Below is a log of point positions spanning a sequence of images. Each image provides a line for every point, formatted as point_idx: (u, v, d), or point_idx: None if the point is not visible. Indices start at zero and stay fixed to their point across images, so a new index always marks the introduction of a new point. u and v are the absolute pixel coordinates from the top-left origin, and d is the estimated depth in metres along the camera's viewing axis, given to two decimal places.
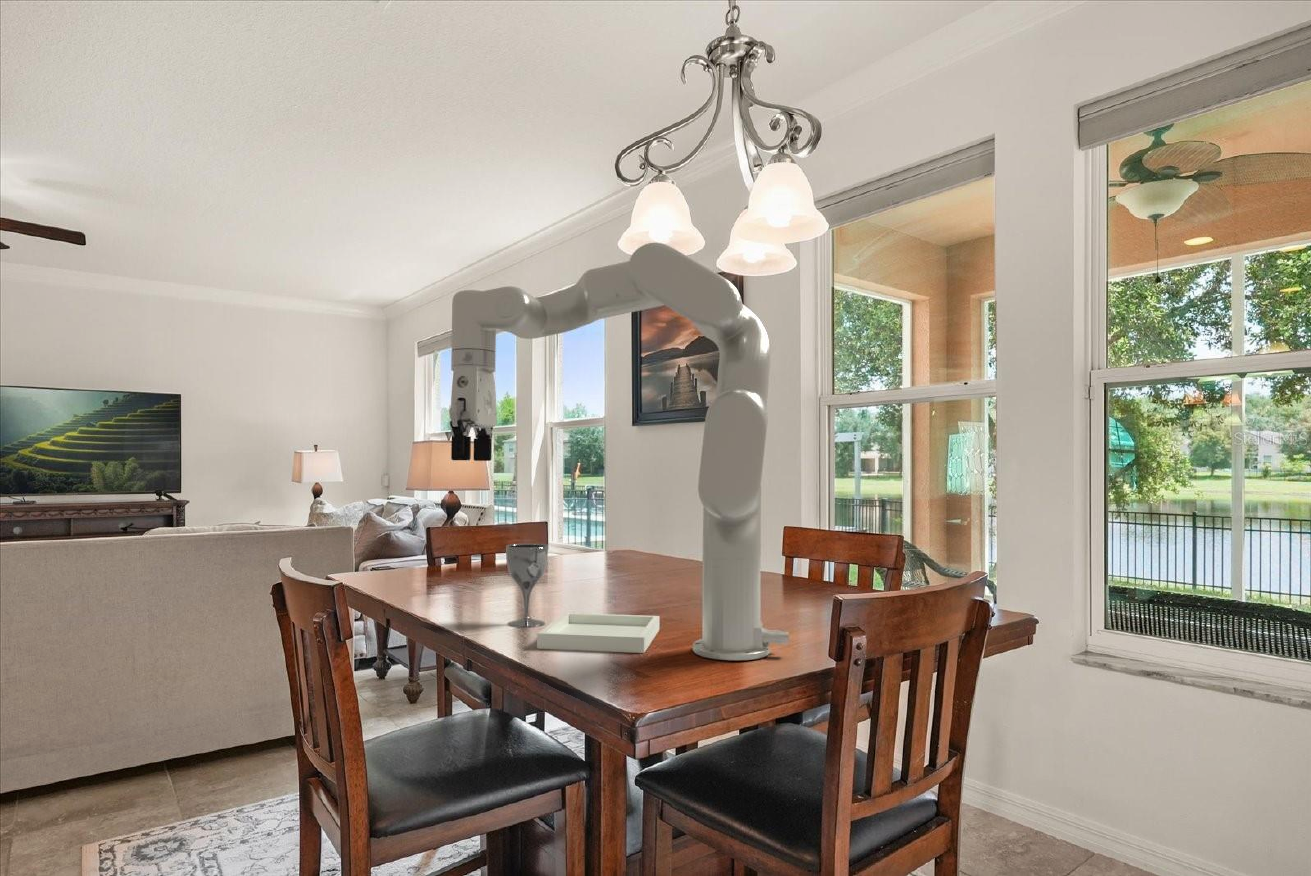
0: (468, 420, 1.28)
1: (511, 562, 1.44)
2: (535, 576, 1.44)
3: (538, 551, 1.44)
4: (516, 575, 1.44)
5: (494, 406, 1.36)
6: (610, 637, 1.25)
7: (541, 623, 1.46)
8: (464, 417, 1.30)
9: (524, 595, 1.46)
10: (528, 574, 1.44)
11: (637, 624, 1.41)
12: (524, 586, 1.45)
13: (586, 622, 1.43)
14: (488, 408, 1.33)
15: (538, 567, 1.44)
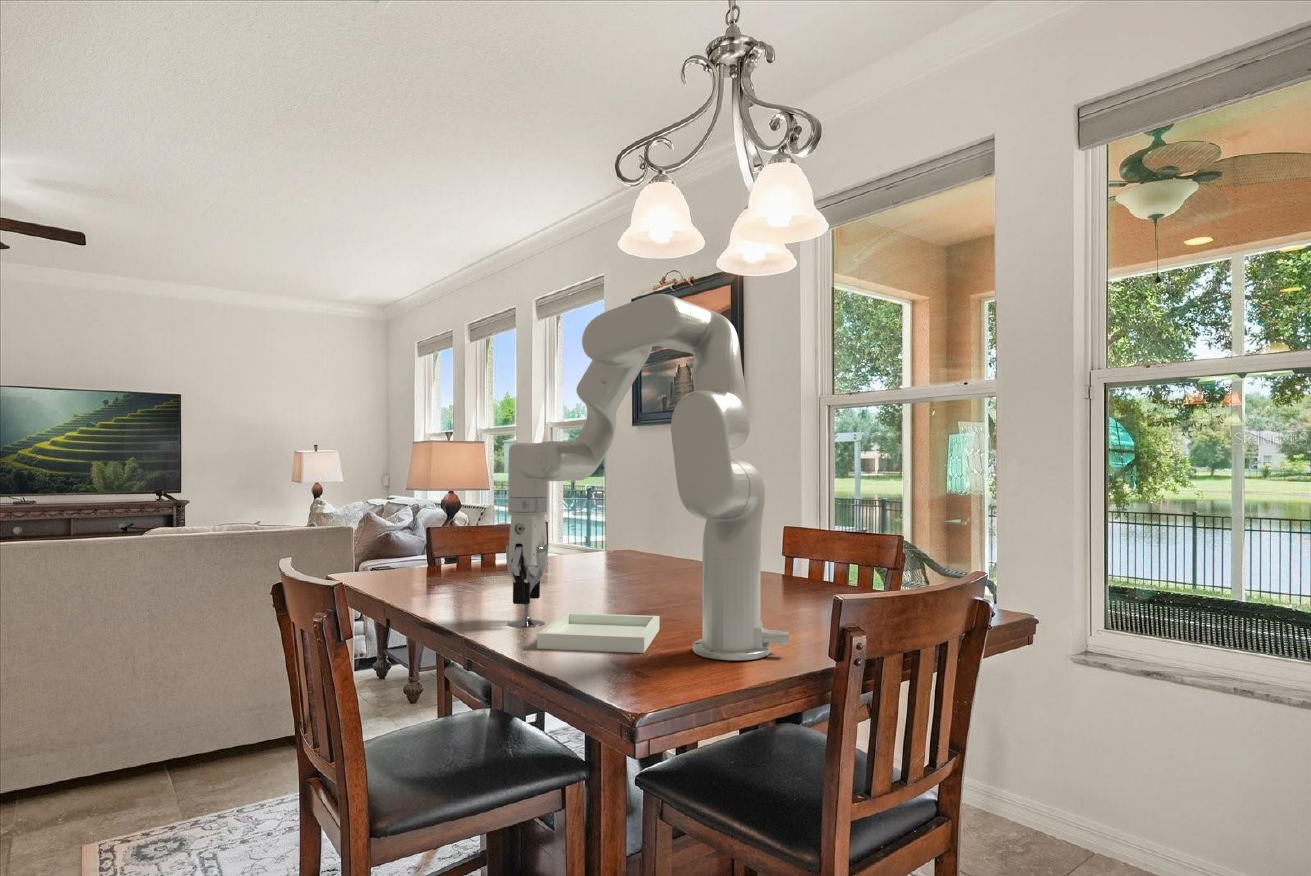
0: (526, 567, 1.43)
1: None
2: (535, 576, 1.44)
3: (538, 551, 1.44)
4: None
5: (545, 543, 1.50)
6: (610, 637, 1.25)
7: (541, 623, 1.46)
8: None
9: None
10: None
11: (637, 624, 1.41)
12: None
13: (586, 622, 1.43)
14: None
15: (538, 567, 1.44)
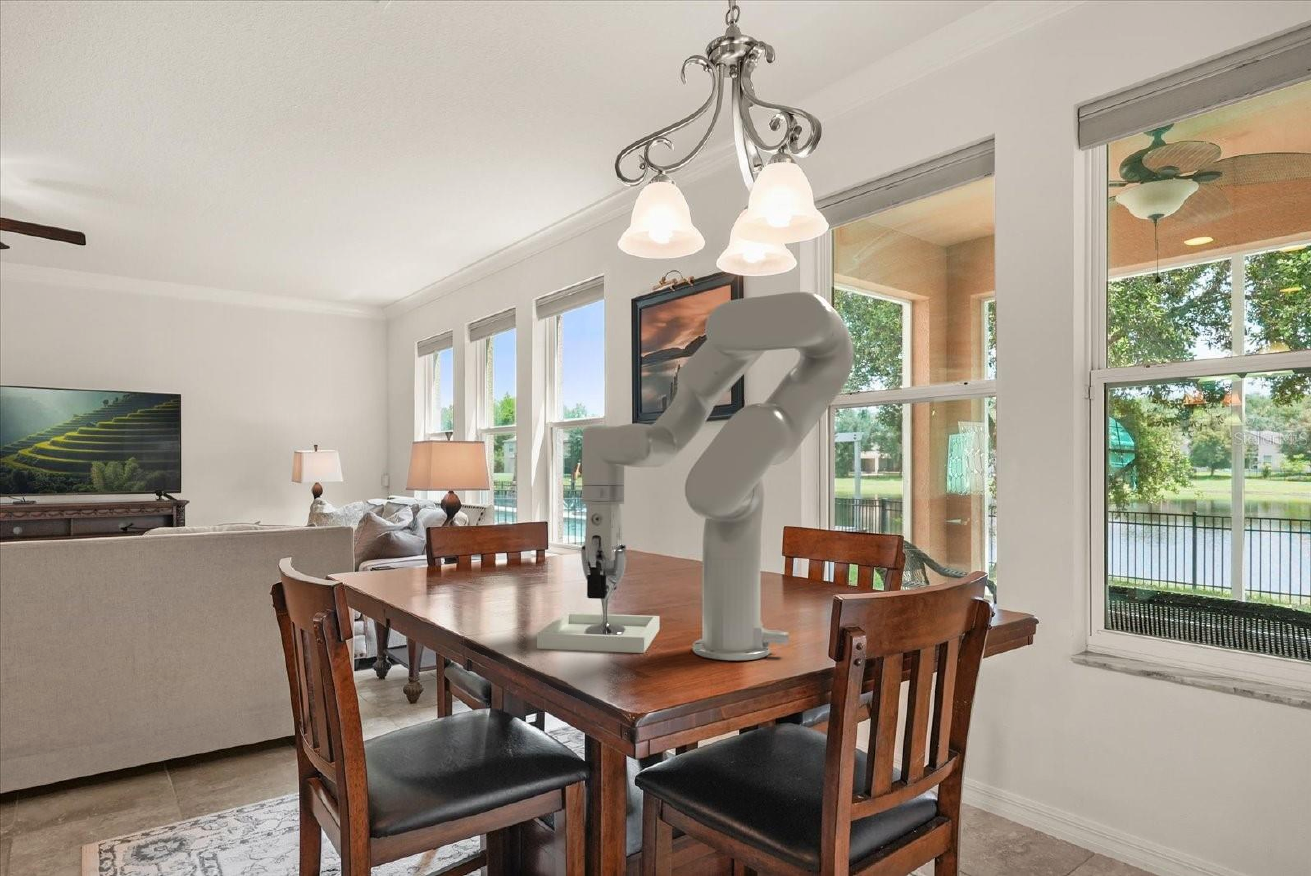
0: (603, 558, 1.30)
1: None
2: (615, 580, 1.33)
3: (617, 555, 1.32)
4: None
5: (621, 536, 1.38)
6: (610, 637, 1.25)
7: (622, 629, 1.35)
8: None
9: (602, 600, 1.35)
10: (607, 580, 1.32)
11: (637, 624, 1.41)
12: None
13: (586, 622, 1.43)
14: (618, 541, 1.35)
15: (617, 572, 1.32)
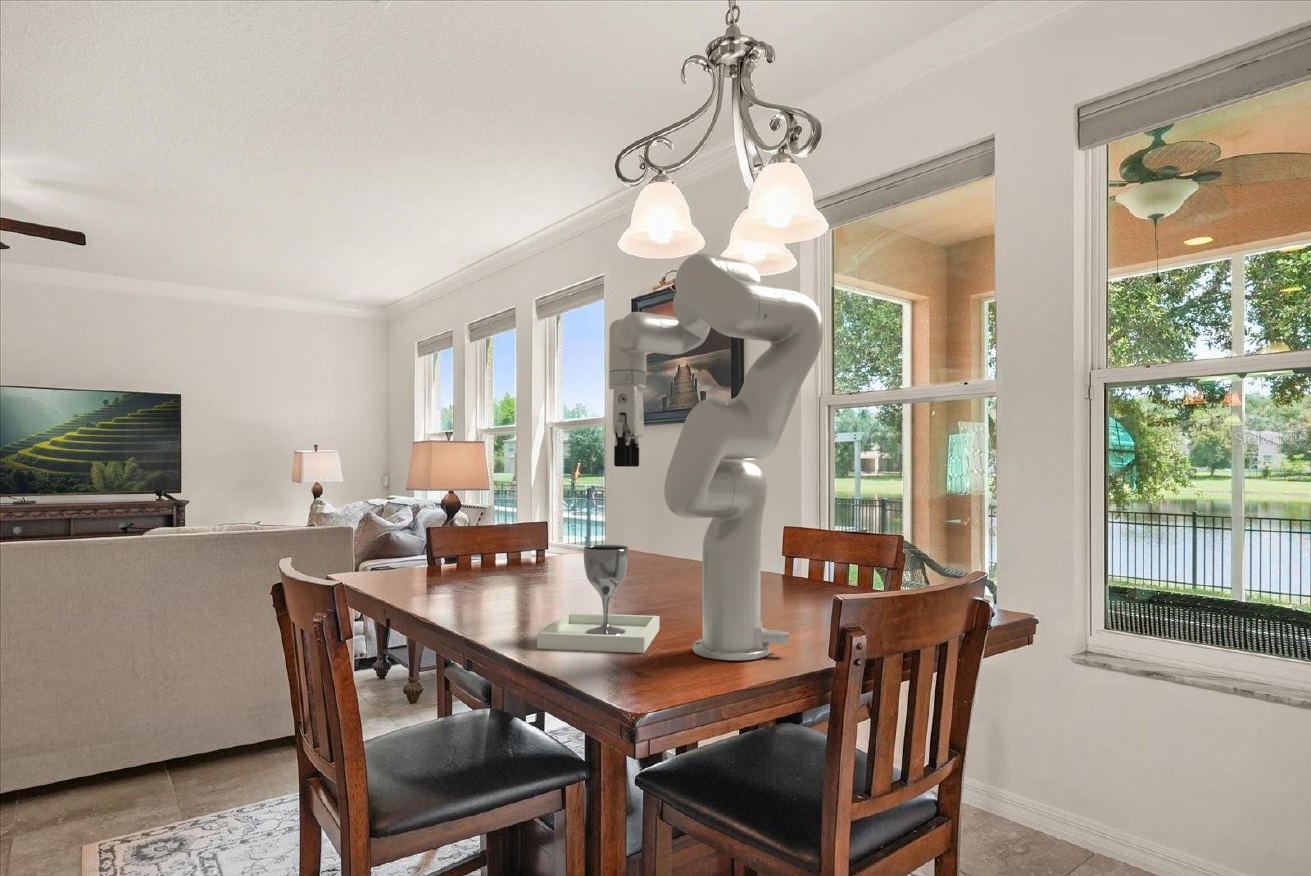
0: (628, 432, 1.48)
1: (590, 566, 1.33)
2: (616, 580, 1.34)
3: (619, 554, 1.33)
4: (596, 579, 1.33)
5: (643, 419, 1.56)
6: (610, 637, 1.25)
7: (622, 631, 1.35)
8: (623, 429, 1.50)
9: (603, 601, 1.35)
10: (609, 579, 1.33)
11: (637, 624, 1.41)
12: (604, 591, 1.34)
13: (586, 622, 1.43)
14: (640, 421, 1.53)
15: (619, 571, 1.33)
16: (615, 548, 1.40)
